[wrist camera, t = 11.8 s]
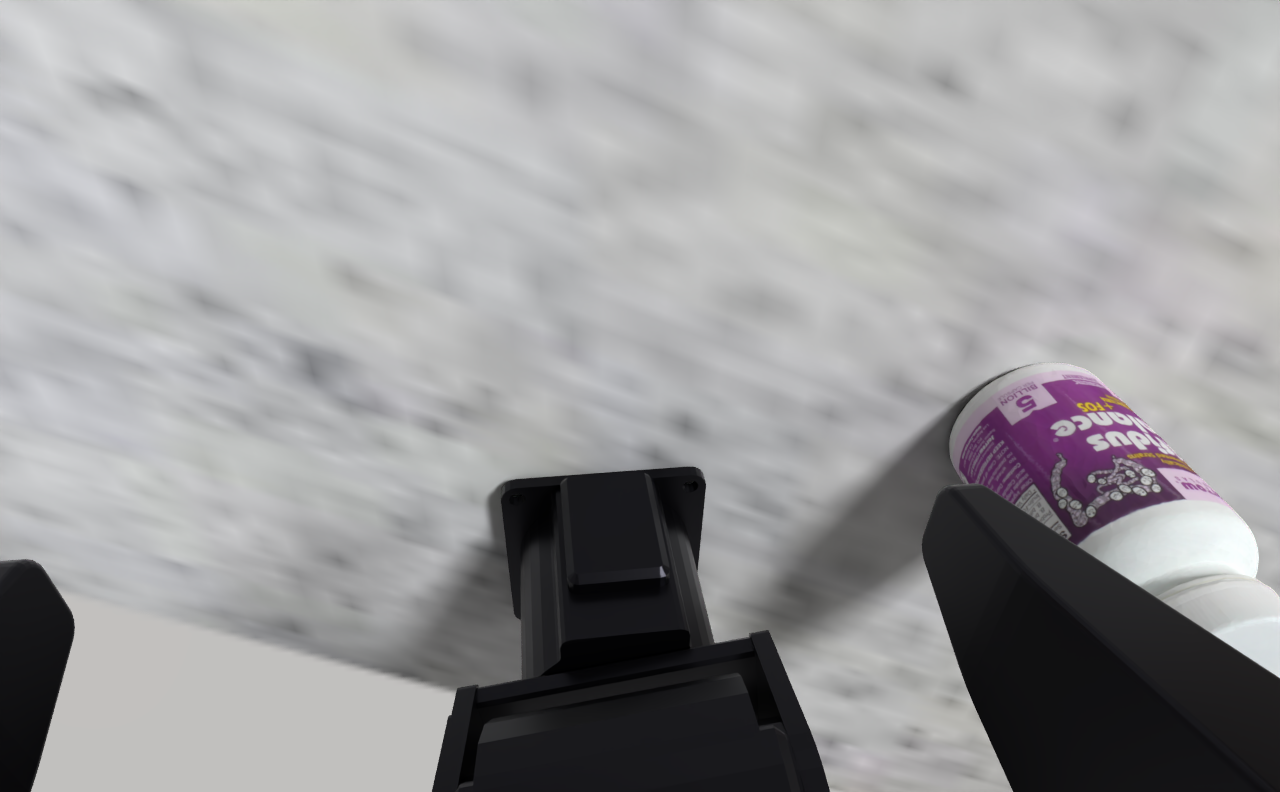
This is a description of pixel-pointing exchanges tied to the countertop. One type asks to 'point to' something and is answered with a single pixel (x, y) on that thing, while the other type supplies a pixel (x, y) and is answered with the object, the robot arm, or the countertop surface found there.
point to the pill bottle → (1118, 498)
